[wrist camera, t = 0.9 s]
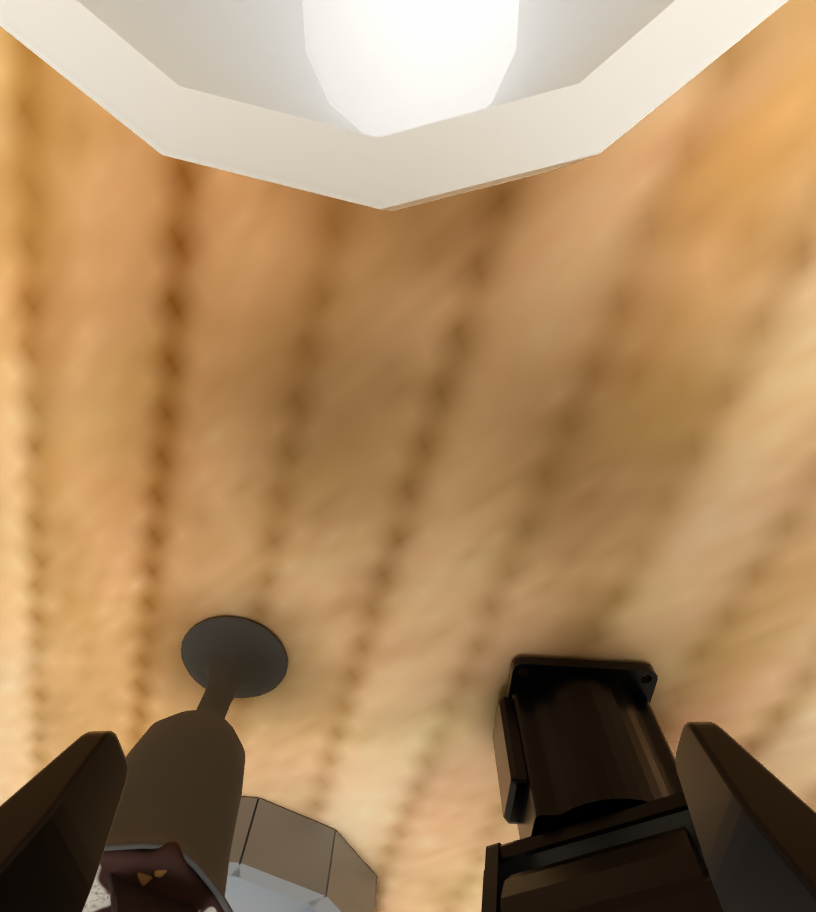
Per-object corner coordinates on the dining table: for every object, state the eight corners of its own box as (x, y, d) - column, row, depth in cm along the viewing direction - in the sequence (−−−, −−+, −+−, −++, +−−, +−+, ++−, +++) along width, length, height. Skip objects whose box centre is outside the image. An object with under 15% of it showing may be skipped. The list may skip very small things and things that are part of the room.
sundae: (194, 716, 27) (-47, 1244, 13) (141, 611, 24) (-232, 1135, 10) (322, 700, 26) (209, 1240, 12) (282, 590, 23) (80, 1123, 10)
